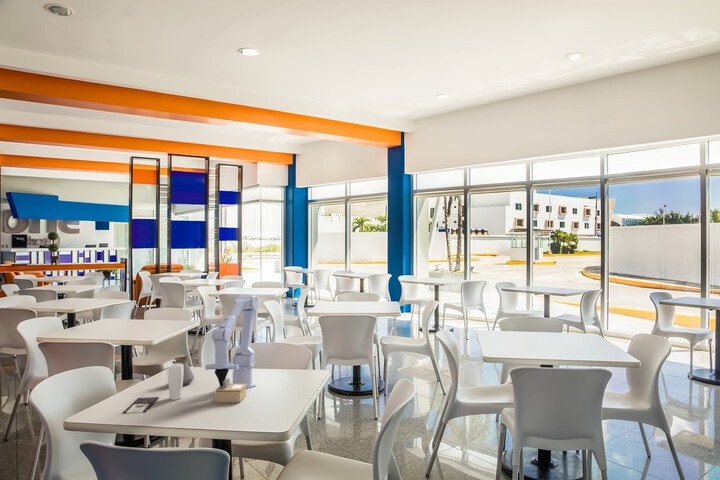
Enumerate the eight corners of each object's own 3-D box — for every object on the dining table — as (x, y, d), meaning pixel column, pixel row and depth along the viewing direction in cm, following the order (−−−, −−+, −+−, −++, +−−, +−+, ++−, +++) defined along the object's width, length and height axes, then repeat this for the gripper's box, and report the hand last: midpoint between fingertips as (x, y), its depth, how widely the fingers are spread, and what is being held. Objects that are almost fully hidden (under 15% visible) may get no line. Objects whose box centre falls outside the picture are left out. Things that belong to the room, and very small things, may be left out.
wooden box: (215, 402, 205) (214, 391, 205) (222, 396, 214) (222, 385, 214) (239, 402, 204) (239, 391, 204) (245, 396, 213) (245, 385, 213)
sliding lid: (215, 391, 205) (215, 383, 205) (222, 384, 214) (222, 377, 214) (241, 391, 204) (241, 383, 204) (247, 384, 214) (247, 377, 214)
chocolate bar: (159, 397, 212) (145, 411, 194) (159, 399, 212) (145, 413, 194) (138, 397, 211) (122, 412, 193) (138, 400, 211) (122, 414, 193)
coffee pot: (173, 381, 239) (172, 351, 239) (196, 380, 240) (196, 350, 240) (159, 394, 217) (159, 362, 218) (185, 393, 219) (185, 361, 219)
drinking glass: (187, 397, 213) (186, 364, 213) (175, 401, 207) (175, 367, 207) (176, 395, 216) (175, 362, 216) (164, 399, 210) (163, 366, 210)
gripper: (202, 357, 206) (202, 388, 206) (234, 357, 205) (235, 388, 205) (208, 353, 213) (208, 383, 213) (239, 353, 212) (240, 383, 212)
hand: (222, 385), depth 209 cm, fingers closed
